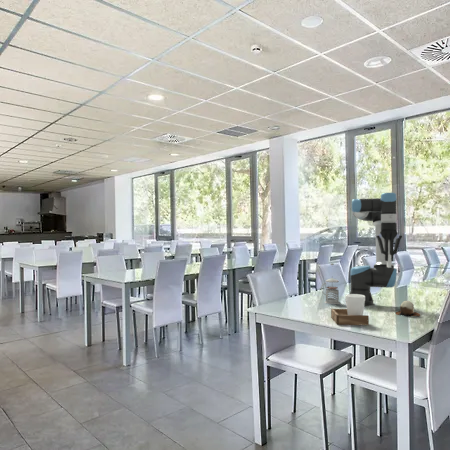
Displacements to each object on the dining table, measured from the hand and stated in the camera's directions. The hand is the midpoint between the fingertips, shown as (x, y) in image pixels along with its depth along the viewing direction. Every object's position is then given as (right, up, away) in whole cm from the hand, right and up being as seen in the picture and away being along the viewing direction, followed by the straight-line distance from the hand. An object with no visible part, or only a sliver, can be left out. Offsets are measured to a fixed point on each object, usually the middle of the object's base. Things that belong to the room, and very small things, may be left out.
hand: (389, 267), depth 204 cm
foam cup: (-20, -27, -8) cm, 34 cm away
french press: (-19, -27, +43) cm, 54 cm away
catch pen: (-23, -26, -7) cm, 36 cm away
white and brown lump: (+13, -27, +8) cm, 31 cm away
